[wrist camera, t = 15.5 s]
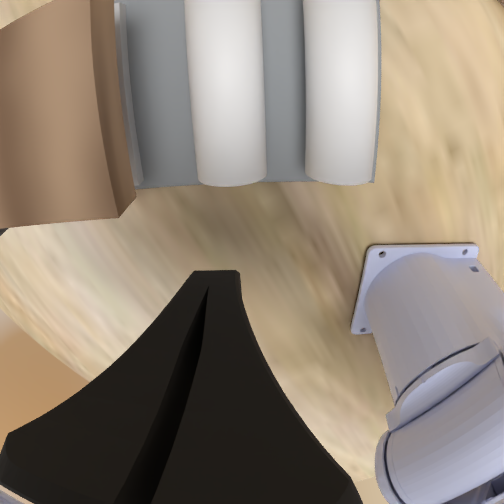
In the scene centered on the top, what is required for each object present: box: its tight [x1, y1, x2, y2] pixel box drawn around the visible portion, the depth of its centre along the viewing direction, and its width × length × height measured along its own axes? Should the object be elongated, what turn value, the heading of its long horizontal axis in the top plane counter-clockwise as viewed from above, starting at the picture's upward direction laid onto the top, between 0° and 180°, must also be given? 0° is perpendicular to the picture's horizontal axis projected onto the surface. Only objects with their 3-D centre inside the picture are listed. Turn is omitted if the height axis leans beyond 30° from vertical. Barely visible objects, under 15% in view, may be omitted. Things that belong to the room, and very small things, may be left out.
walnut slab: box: [0, 0, 136, 229], centre depth 10 cm, size 9×9×2 cm
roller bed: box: [0, 0, 381, 236], centre depth 11 cm, size 22×11×7 cm, turn 92°
